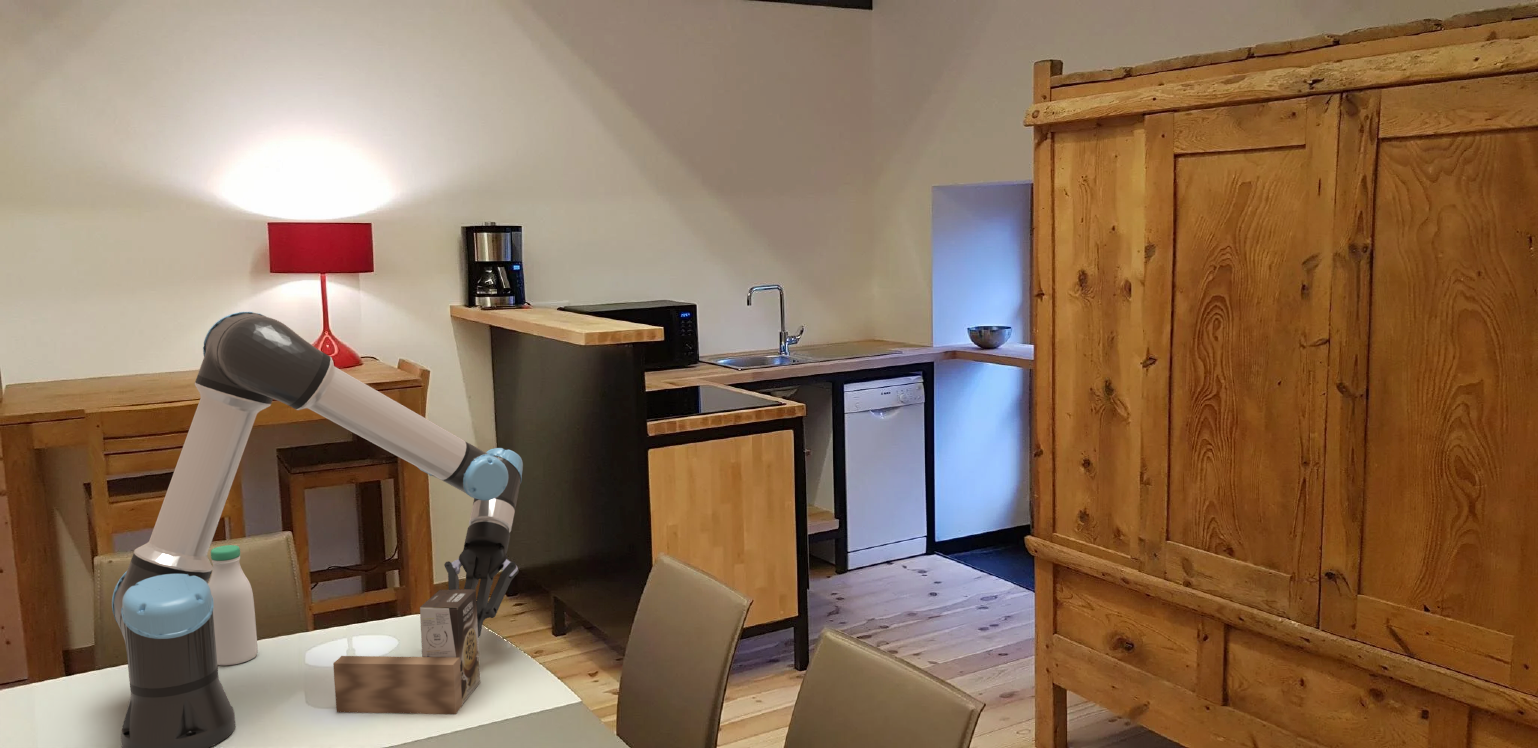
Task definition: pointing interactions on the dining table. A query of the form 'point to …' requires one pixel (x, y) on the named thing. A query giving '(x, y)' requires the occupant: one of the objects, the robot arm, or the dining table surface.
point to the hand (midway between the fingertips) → (463, 655)
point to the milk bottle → (232, 608)
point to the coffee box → (453, 632)
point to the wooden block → (398, 684)
